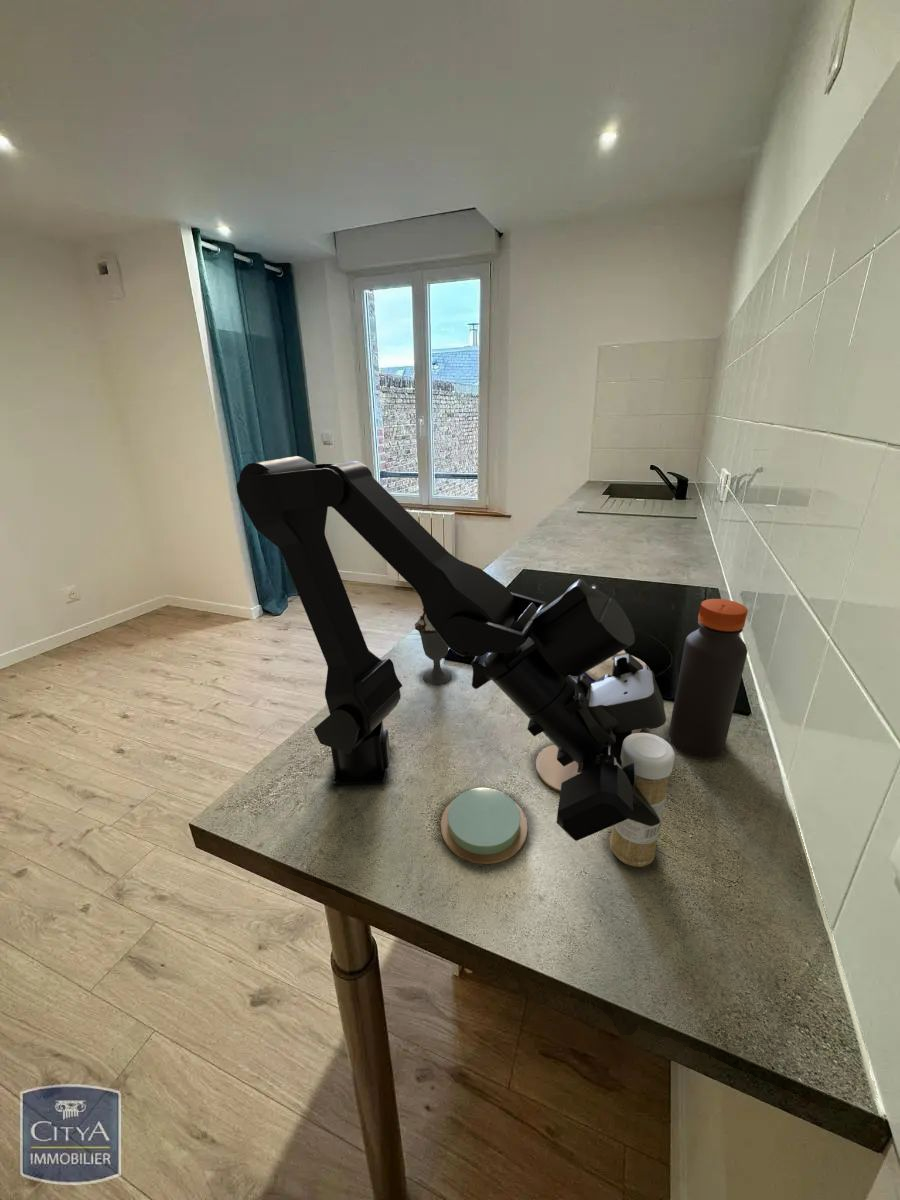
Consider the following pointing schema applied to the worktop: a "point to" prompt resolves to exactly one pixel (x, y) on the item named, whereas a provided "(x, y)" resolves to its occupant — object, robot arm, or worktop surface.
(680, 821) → the worktop surface
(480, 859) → the saucer coaster
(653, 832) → the sprinkles bottle
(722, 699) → the vinegar
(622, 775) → the robot arm
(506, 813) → the green flat disc
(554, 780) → the coaster
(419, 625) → the sundae
